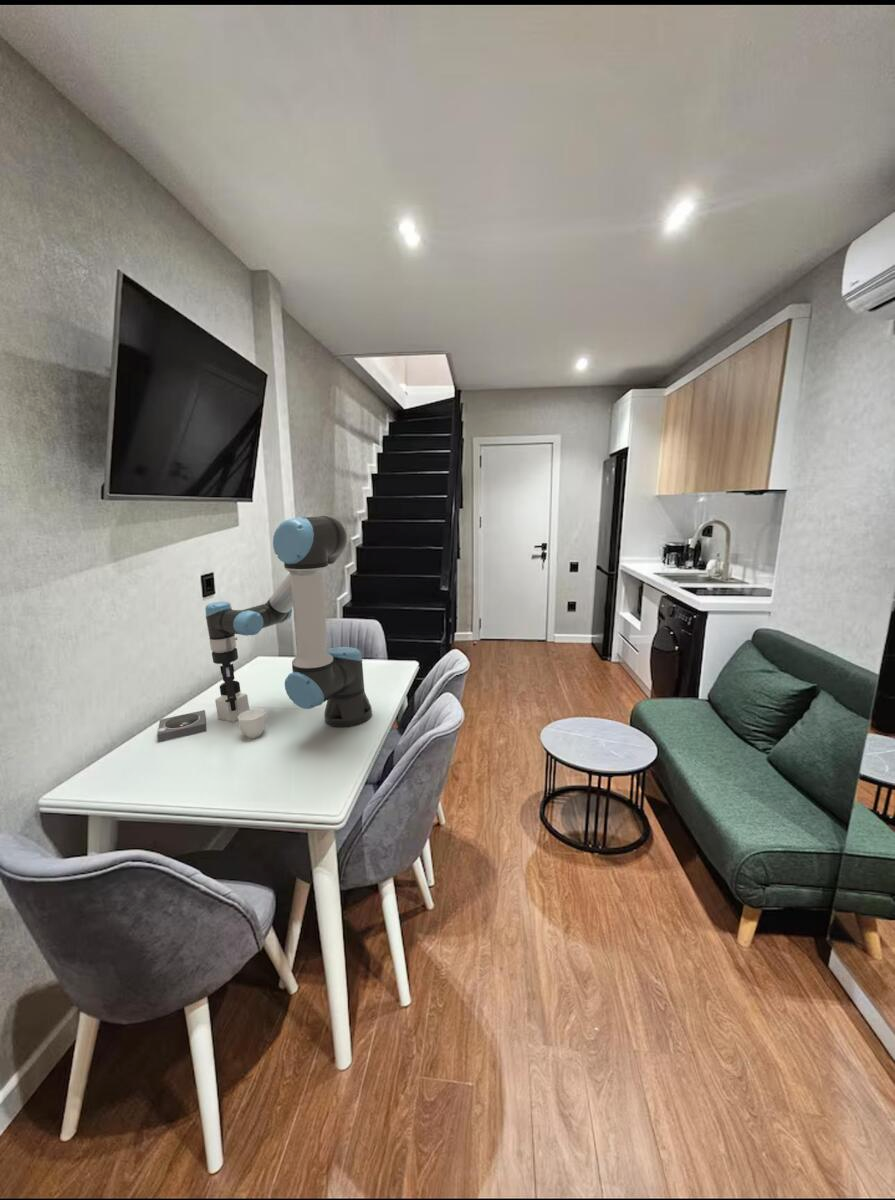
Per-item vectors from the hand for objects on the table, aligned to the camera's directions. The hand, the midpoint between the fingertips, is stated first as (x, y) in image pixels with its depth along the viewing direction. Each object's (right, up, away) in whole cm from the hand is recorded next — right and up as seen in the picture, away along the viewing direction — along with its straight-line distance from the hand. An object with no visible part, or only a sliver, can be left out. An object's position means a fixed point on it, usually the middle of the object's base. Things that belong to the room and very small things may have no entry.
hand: (233, 713), depth 158 cm
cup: (+12, -3, -12) cm, 18 cm away
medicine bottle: (0, -1, 0) cm, 1 cm away
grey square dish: (-13, -3, -7) cm, 15 cm away
